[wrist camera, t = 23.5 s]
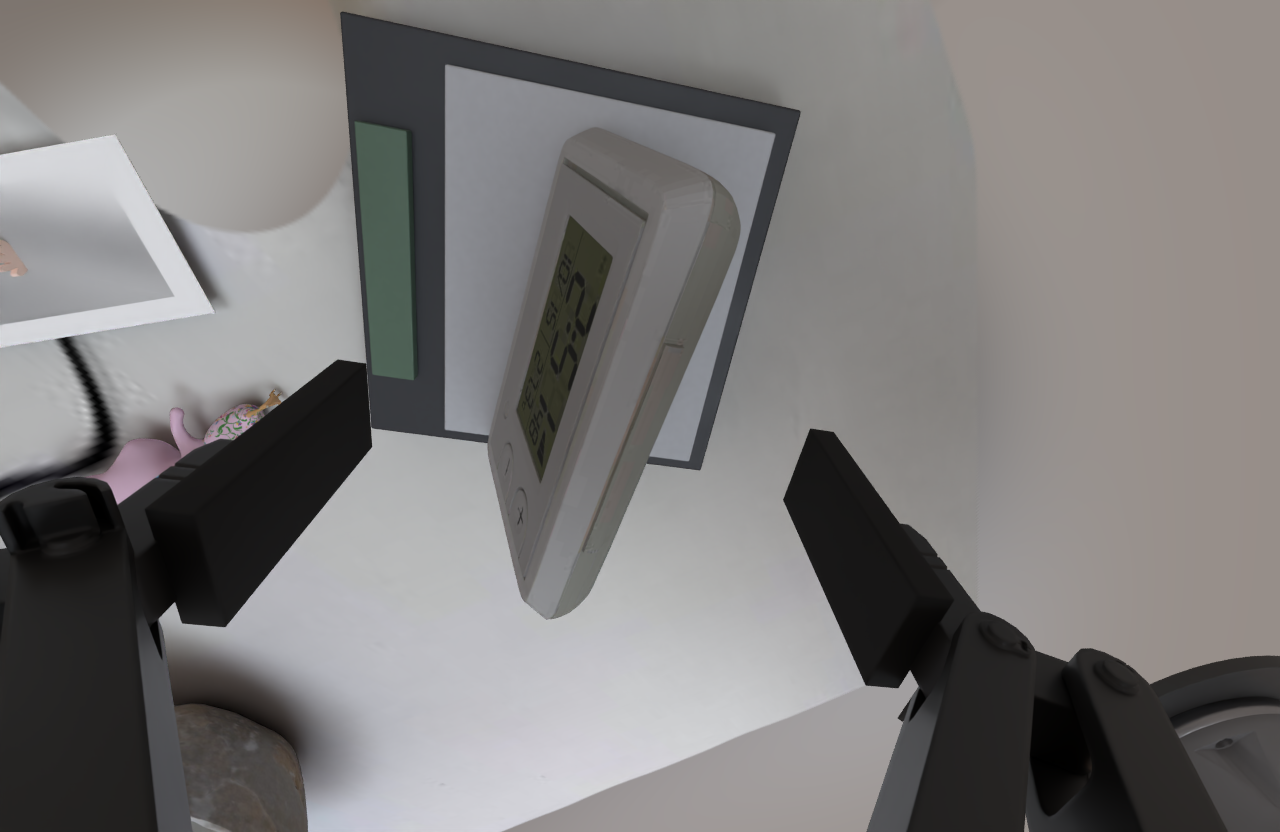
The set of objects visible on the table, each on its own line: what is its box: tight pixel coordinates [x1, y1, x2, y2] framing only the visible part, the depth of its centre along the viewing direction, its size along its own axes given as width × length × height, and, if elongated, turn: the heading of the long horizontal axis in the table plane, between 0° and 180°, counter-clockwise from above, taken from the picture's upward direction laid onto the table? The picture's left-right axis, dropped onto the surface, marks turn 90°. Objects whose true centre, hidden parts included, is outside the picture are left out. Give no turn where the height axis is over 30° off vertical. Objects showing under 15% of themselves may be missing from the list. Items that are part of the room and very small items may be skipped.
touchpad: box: [0, 134, 216, 348], centre depth 24 cm, size 8×15×2 cm, turn 99°
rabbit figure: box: [86, 389, 282, 505], centre depth 28 cm, size 6×6×15 cm
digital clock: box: [488, 127, 741, 620], centre depth 20 cm, size 16×9×11 cm, turn 149°
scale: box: [340, 12, 801, 470], centre depth 25 cm, size 18×18×3 cm
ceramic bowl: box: [174, 703, 308, 832], centre depth 39 cm, size 22×23×10 cm
